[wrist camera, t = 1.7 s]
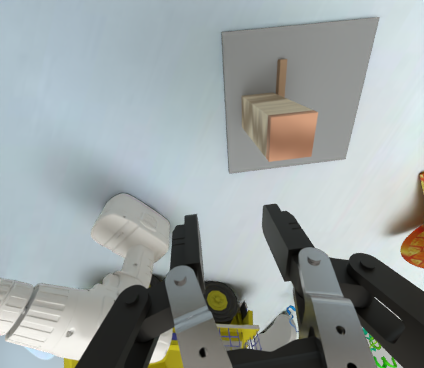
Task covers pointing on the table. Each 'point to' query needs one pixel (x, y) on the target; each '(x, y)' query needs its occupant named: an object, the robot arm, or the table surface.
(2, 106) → the table surface
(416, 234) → the sculpture
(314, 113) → the birch block
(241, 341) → the toy truck
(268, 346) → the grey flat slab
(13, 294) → the power drill
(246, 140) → the mat
